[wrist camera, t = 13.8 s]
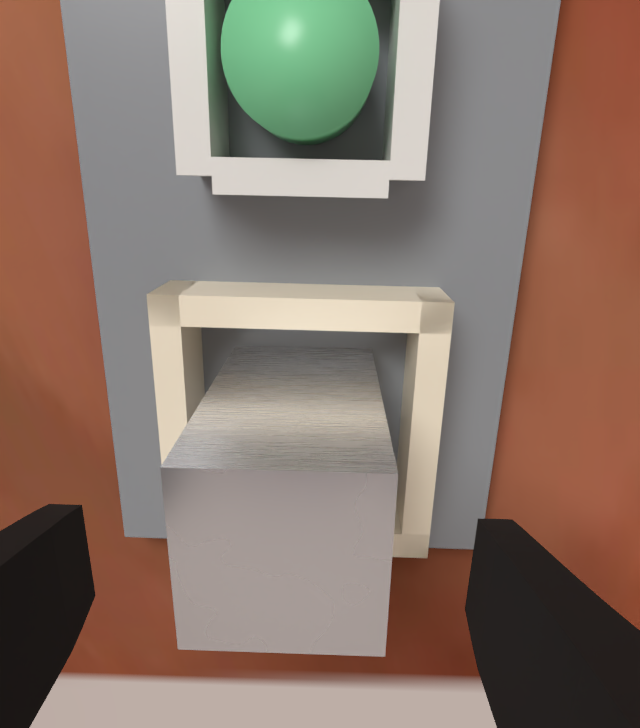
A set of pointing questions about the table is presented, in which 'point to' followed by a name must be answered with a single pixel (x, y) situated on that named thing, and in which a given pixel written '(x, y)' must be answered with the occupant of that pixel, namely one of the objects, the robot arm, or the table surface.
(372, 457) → the block
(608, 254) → the table surface
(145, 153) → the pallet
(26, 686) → the robot arm
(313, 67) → the button
